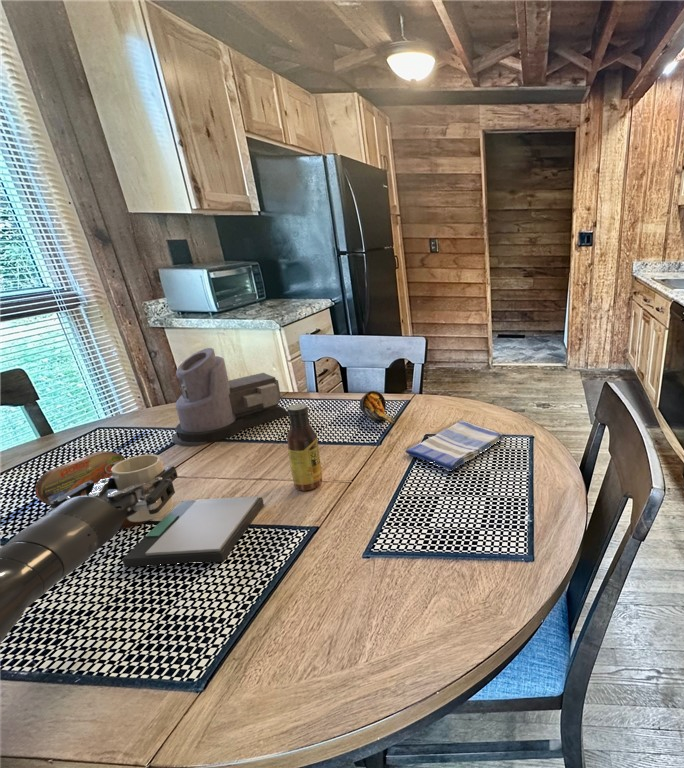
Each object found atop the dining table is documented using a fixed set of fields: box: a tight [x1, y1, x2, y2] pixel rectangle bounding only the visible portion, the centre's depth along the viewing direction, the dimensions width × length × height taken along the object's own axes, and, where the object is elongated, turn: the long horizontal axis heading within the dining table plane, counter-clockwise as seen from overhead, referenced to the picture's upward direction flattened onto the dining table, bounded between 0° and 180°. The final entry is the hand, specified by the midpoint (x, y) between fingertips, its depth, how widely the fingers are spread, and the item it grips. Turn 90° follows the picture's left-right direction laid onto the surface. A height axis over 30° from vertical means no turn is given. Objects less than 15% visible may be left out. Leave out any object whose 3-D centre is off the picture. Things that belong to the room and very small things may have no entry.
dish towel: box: [405, 420, 505, 470], centre depth 118 cm, size 17×24×3 cm
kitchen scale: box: [121, 496, 264, 568], centre depth 81 cm, size 16×17×3 cm
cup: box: [111, 453, 174, 522], centre depth 68 cm, size 6×6×9 cm
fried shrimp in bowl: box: [359, 390, 396, 424], centre depth 133 cm, size 9×11×18 cm
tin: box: [34, 451, 126, 506], centre depth 91 cm, size 15×3×8 cm, turn 161°
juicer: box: [171, 347, 289, 447], centre depth 123 cm, size 30×16×24 cm, turn 145°
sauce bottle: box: [286, 403, 323, 492], centre depth 95 cm, size 7×6×20 cm
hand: (151, 471), depth 70 cm, fingers closed on cup, 6 cm apart
